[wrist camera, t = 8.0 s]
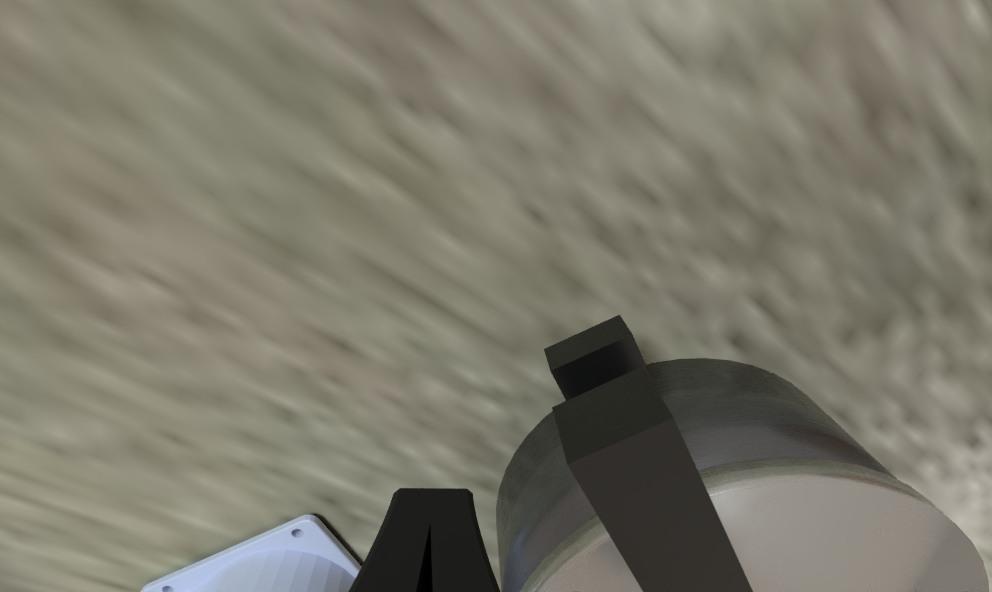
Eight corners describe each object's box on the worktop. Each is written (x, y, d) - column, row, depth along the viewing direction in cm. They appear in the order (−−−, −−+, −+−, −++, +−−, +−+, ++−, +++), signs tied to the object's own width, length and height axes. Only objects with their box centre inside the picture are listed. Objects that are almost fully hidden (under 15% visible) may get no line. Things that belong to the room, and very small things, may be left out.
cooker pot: (575, 657, 28) (603, 799, 22) (369, 365, 20) (334, 476, 14) (863, 550, 26) (972, 679, 20) (763, 178, 18) (897, 224, 12)
